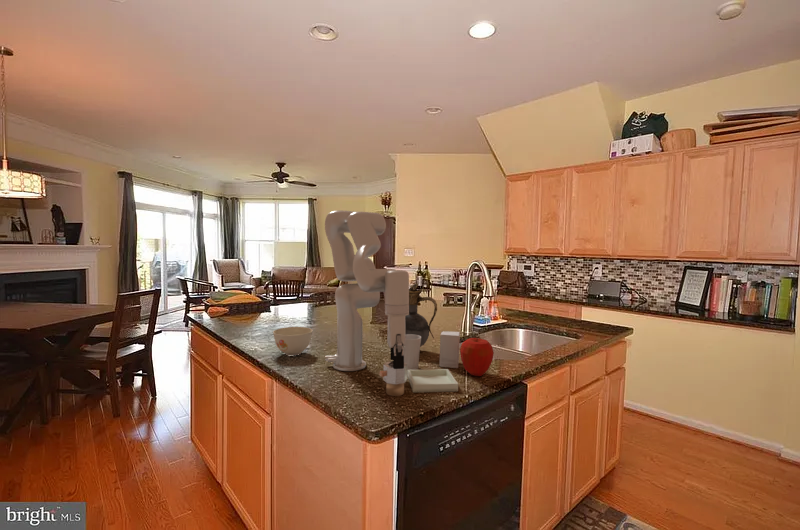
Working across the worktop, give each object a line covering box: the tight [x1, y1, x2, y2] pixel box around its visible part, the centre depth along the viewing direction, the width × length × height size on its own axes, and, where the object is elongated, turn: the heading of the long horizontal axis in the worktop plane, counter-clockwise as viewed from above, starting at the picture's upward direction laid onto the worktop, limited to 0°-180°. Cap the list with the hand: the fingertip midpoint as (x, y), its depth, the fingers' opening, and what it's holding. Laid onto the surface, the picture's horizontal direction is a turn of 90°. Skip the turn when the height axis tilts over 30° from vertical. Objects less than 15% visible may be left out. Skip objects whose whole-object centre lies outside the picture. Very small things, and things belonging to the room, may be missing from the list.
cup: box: [403, 334, 421, 370], centre depth 145 cm, size 8×8×12 cm
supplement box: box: [439, 330, 461, 369], centre depth 150 cm, size 7×7×13 cm
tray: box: [407, 368, 459, 393], centre depth 129 cm, size 15×15×2 cm
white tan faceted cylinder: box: [385, 364, 405, 397], centre depth 120 cm, size 6×6×9 cm
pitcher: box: [405, 283, 438, 348], centre depth 167 cm, size 11×19×30 cm, turn 73°
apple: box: [459, 336, 495, 377], centre depth 138 cm, size 12×12×14 cm
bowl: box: [272, 326, 314, 356], centre depth 160 cm, size 16×16×10 cm
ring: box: [379, 360, 408, 384], centre depth 120 cm, size 9×7×5 cm
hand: (396, 364), depth 119 cm, fingers open, 9 cm apart
